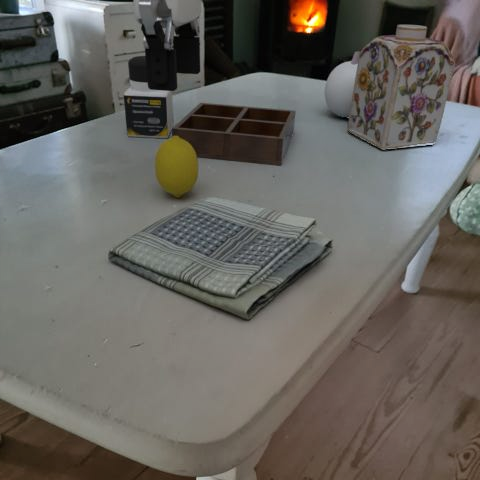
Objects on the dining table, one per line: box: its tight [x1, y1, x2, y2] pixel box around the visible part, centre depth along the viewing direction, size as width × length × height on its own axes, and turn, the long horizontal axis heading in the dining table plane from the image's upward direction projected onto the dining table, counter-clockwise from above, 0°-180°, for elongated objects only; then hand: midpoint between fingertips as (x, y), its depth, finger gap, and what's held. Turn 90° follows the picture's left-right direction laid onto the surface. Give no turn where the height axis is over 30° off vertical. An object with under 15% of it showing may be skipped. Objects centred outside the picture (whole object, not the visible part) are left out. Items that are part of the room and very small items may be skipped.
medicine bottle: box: [123, 55, 175, 139], centre depth 88 cm, size 7×7×12 cm
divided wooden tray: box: [171, 102, 296, 166], centre depth 87 cm, size 17×17×4 cm
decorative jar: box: [347, 24, 456, 149], centre depth 88 cm, size 12×12×18 cm
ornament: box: [324, 51, 361, 118], centre depth 101 cm, size 10×10×12 cm
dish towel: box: [107, 195, 334, 320], centre depth 55 cm, size 19×18×3 cm
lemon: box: [154, 136, 199, 198], centre depth 66 cm, size 6×6×8 cm
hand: (175, 80), depth 60 cm, fingers open, 9 cm apart
